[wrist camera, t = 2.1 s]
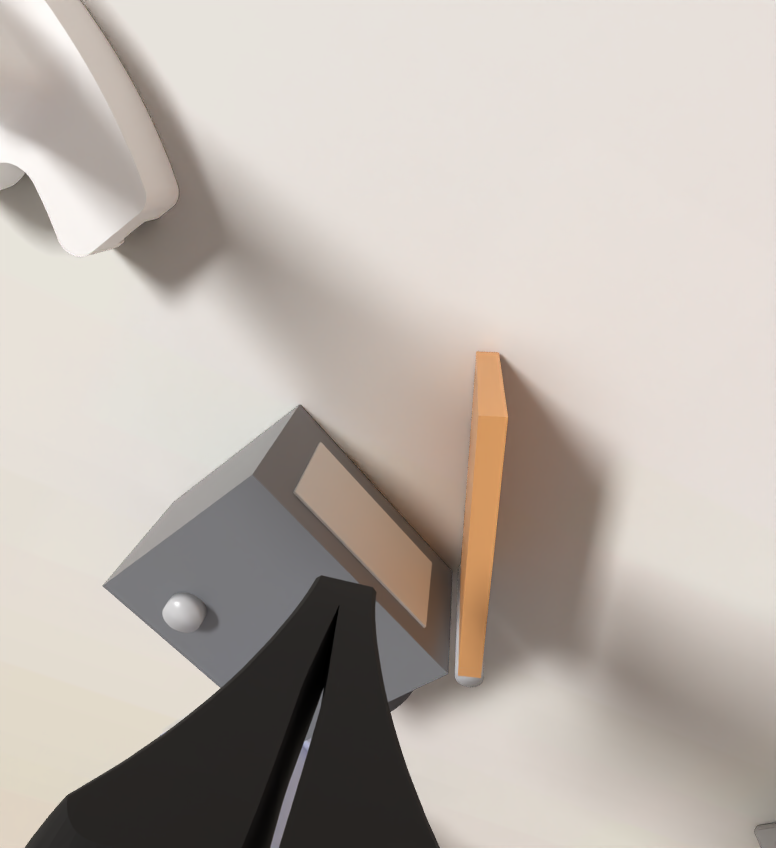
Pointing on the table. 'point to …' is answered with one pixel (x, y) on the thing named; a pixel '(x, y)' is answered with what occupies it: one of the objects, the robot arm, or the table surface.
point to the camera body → (287, 560)
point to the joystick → (77, 127)
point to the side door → (480, 516)
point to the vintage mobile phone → (766, 835)
